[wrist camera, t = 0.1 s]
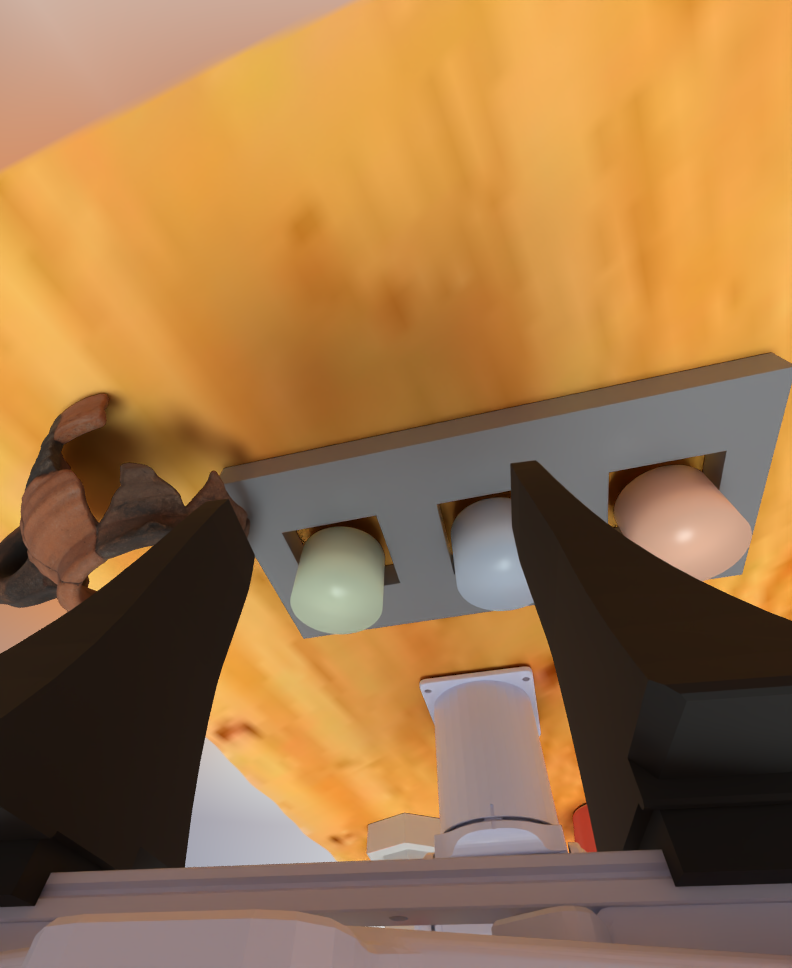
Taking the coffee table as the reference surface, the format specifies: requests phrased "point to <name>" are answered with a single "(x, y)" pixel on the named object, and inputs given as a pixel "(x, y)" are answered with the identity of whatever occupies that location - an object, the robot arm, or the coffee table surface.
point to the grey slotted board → (486, 470)
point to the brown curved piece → (86, 518)
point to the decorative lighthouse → (402, 840)
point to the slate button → (488, 557)
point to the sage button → (339, 581)
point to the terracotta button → (683, 520)
